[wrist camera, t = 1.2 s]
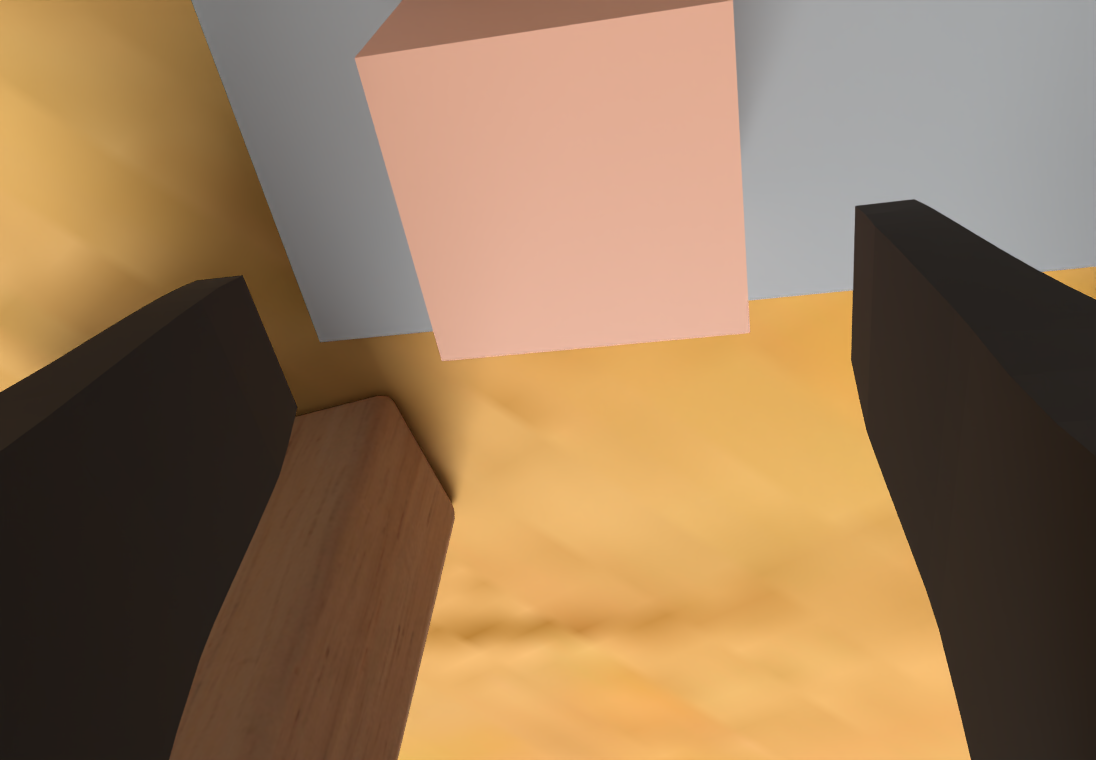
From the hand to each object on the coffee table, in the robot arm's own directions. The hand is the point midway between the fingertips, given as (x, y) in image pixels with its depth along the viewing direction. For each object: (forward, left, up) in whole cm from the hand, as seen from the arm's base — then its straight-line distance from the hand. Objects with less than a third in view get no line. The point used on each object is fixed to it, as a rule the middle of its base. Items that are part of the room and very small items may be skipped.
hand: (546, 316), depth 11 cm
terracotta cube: (0, 0, -8) cm, 8 cm away
